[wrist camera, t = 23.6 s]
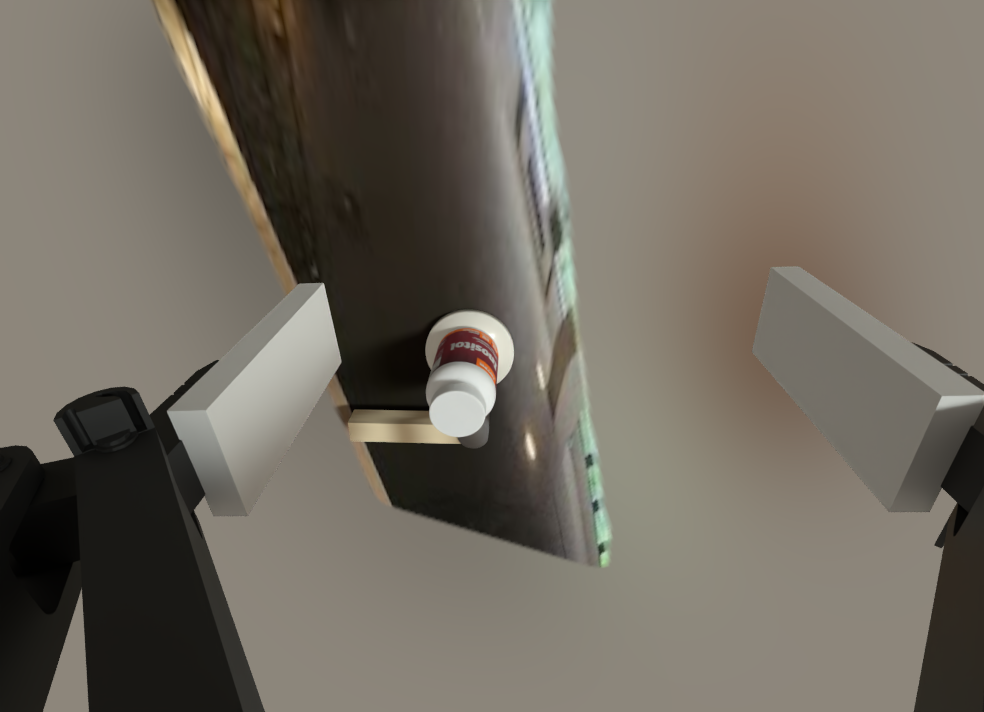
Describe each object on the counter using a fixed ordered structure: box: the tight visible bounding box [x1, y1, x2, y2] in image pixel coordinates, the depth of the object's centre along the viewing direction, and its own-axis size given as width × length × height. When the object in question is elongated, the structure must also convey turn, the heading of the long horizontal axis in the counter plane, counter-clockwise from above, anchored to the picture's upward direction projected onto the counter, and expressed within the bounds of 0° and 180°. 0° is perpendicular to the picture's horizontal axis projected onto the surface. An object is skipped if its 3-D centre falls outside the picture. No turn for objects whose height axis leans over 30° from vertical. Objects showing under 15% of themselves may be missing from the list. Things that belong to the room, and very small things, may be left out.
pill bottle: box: [426, 327, 499, 437], centre depth 46 cm, size 6×6×11 cm
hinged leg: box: [348, 410, 490, 448], centre depth 54 cm, size 15×3×4 cm, turn 90°
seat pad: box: [425, 309, 514, 383], centre depth 52 cm, size 9×9×1 cm
